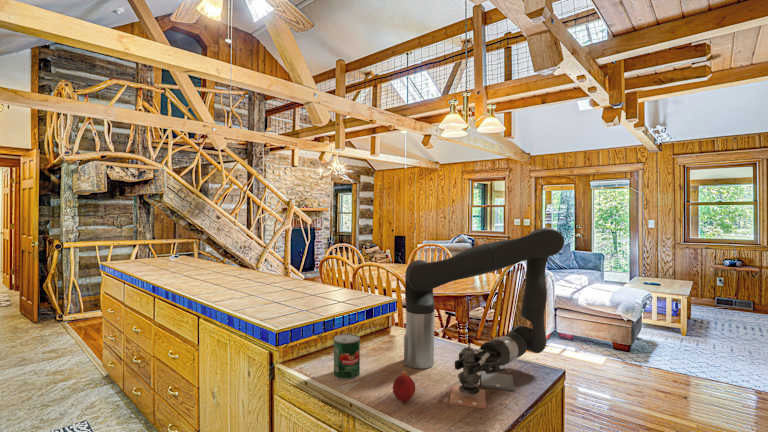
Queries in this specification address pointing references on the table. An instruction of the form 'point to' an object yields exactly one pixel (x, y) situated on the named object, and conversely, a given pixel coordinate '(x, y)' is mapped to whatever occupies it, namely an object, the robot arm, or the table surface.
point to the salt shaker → (465, 379)
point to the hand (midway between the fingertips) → (462, 368)
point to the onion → (403, 387)
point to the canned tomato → (346, 356)
